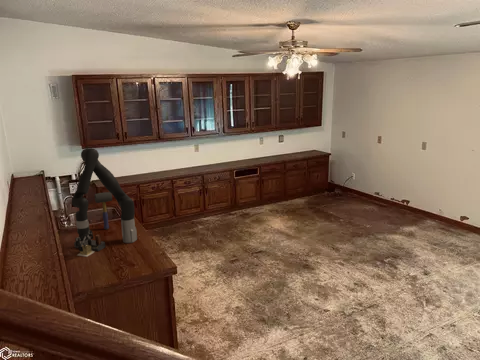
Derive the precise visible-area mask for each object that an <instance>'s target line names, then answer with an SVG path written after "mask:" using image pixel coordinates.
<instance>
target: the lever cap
mask: <svg viewBox="0 0 480 360" xmlns="http://www.w3.org/2000/svg"><path fill="white" fill-rule="evenodd" d="M82 247H83V251H82V252H81V251H79V253H80V254H85V255H88V254H90V253H91V252H92V251H93V250H91V245H87V244H84V245H82Z"/></svg>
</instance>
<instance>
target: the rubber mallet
mask: <svg viewBox="0 0 480 360" xmlns="http://www.w3.org/2000/svg"><path fill="white" fill-rule="evenodd" d="M112 201H113V195H112V194H111V193H110V192H109V191H107V192H106V191H105V192H99V193H95V194H94V202H95V203H96V204H98V203H99V204H100V203H101V204H102V220H103V229H104V230H109V229H110V225H109V215H108V211H107V202H112Z"/></svg>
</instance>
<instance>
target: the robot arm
mask: <svg viewBox="0 0 480 360" xmlns="http://www.w3.org/2000/svg"><path fill="white" fill-rule="evenodd" d="M99 154H100V153H99V152H98V150H97V149H95V148H84V149H82V151H81V153H80V157H81V159H82V161H83V162H84V167H83V170H82V172H81V175H80V177H79V180H78V182H77V186H76V187H77V188H76V190H75V193H74V194H73V196H72V198H71V205H72V206H73V207H74V208H78V210H77V211H76V212H75V220H76V222H75V223H76V230H77V231H76V232H77V234H78V236H79V237H78V236H77V237H75V241H74V242H76V246H78V247H79V248H78V251H79V252H80V251H81V252H82V251H83V247H82V245H83V243H84V241H85V240H88V245H91V246H92V243H91V240H94V233H93V230H90V223H89V219H88V210H89V200H88V199H87V198H86V197H84V195H87V194H89V189H90V184H91V181H92V176H93V174H94V175H95V176H96V177H97V179H98V180H99V181H100V182H101V184H102V185H103V186H104V188H105V189H106V190H107V192H110V193H111V194H112V197H114V198H115V201H116V202H117V204H118V205H119V207H120V213H121V214H120V223H121V235H122V242H123V243H125V244H132V243H135V242H136V241H137V240H138V235H137V233H138V232H137V227H136V226H135V225H136V224H135V213H136V212H135V211H136V210H135V203H134V200H133V199H132V198H131V197H130V196H129V195H128V194H127V193H126V192H125V191H124V190H123V188H122V187H121V185H120V183H119V181H118V180H117V178H116V177H115V175H114V174H113V173H112V171H110V170H109V169H108V168H107V167H106V166H104V165H103V164H102V163H101V161H99V160H100V159H99V156H100V155H99ZM81 241H82V242H81ZM80 243H81V245H80Z"/></svg>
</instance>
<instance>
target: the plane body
mask: <svg viewBox="0 0 480 360" xmlns="http://www.w3.org/2000/svg"><path fill="white" fill-rule="evenodd" d="M78 237H79V235H77V238H78ZM94 239H95V240H94ZM94 239H92V240H91V243H92V246H91V250H92V251H95V252H100V251H101V250H103V249H105V248H106V242H105V241H103V240H101V239H102V238H101V234H96V235H95V236H94ZM81 242H82V241H81ZM73 244H74V249H75V248H76V249H79V247H78V246H76V241H74V242H73ZM84 244H87V245H88V240H85V241H84V243H83V245H84ZM80 245H81V243H80Z"/></svg>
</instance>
